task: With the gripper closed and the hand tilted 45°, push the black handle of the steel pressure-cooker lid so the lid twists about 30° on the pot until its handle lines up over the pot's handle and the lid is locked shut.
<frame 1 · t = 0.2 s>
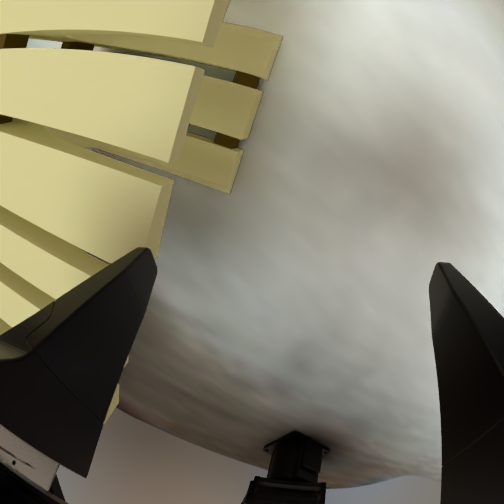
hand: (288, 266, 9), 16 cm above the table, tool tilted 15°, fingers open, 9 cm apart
slatted curved stool: (163, 89, 23), on the table, touching gripper
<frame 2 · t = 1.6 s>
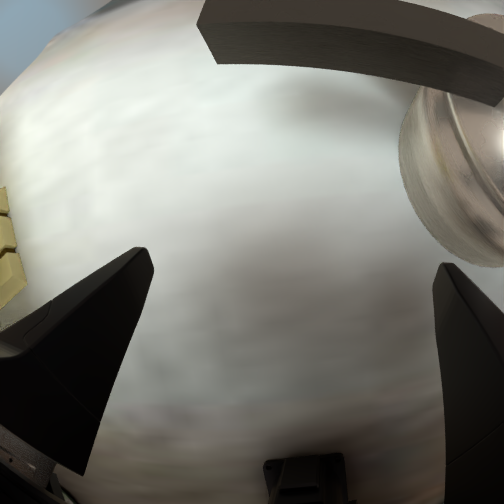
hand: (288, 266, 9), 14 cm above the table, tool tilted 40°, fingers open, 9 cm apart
pressure cooker pot: (485, 168, 21), on the table
pressure cooker lid: (487, 74, 10), point 11 cm above the table, hinge at 30.0°
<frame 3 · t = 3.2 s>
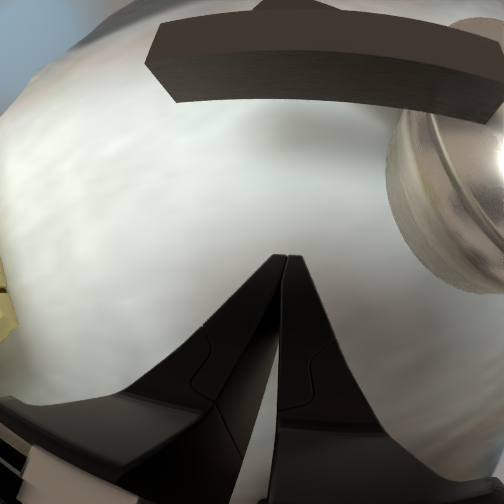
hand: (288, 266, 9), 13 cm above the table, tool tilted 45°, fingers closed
pressure cooker pot: (480, 187, 20), on the table
pressure cooker lid: (475, 88, 10), point 12 cm above the table, hinge at 30.0°
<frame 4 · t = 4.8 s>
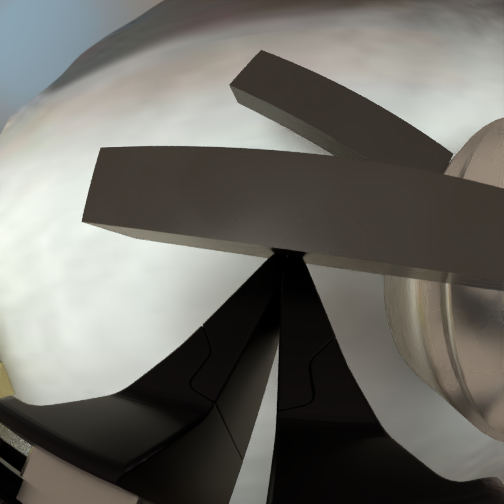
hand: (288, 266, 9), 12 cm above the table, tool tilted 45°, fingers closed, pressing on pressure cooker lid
pressure cooker pot: (487, 284, 18), on the table
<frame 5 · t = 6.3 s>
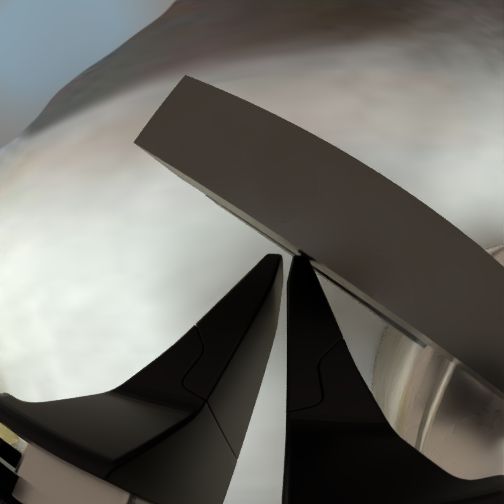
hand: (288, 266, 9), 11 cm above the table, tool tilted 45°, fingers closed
pressure cooker pot: (479, 368, 17), on the table
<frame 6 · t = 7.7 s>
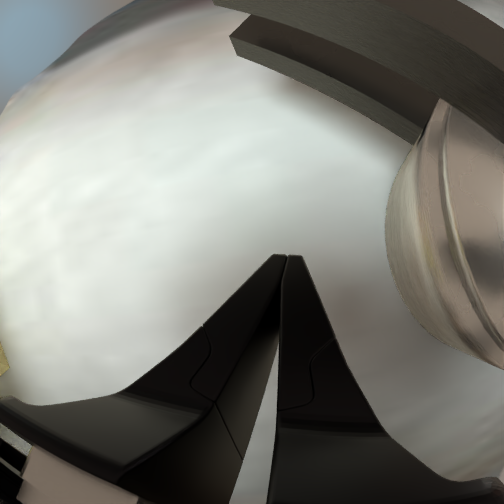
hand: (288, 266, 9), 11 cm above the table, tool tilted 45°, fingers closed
pressure cooker pot: (489, 235, 18), on the table
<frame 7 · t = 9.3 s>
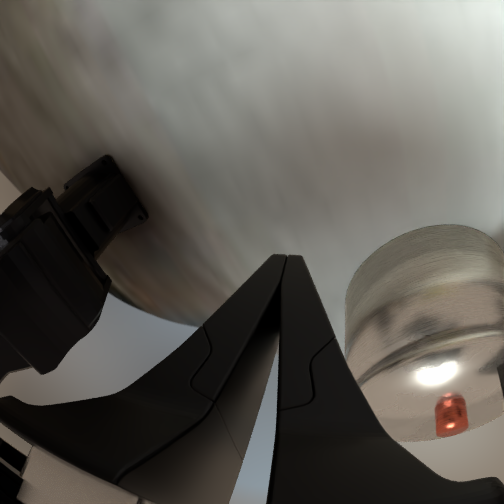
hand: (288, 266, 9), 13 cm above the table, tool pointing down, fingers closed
pressure cooker pot: (430, 300, 26), on the table
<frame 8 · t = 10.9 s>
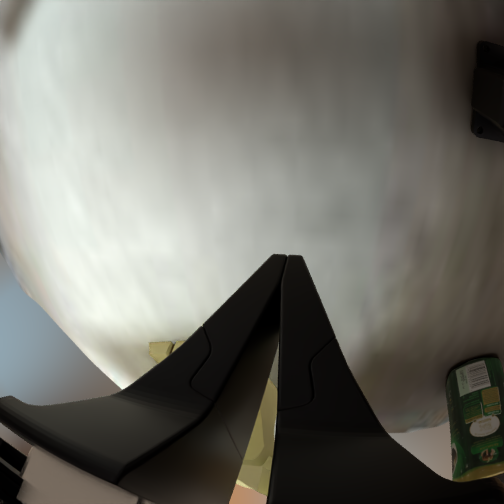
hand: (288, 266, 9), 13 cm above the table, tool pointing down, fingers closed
slatted curved stool: (220, 375, 41), on the table
coffee jar: (472, 373, 32), on the table
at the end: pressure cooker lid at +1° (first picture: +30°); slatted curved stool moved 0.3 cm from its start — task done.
